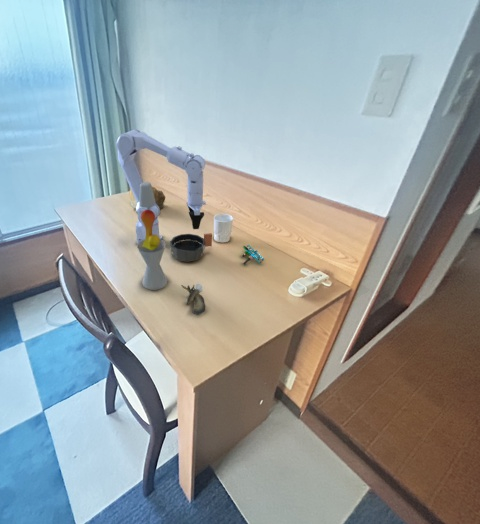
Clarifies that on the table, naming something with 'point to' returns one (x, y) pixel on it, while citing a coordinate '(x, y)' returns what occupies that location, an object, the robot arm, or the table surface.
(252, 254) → the stick construction toy
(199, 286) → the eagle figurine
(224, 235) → the white cup
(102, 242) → the table surface
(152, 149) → the robot arm
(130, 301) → the table surface
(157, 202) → the rough brown rock
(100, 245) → the table surface
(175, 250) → the black cooking pot
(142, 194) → the lava lamp
